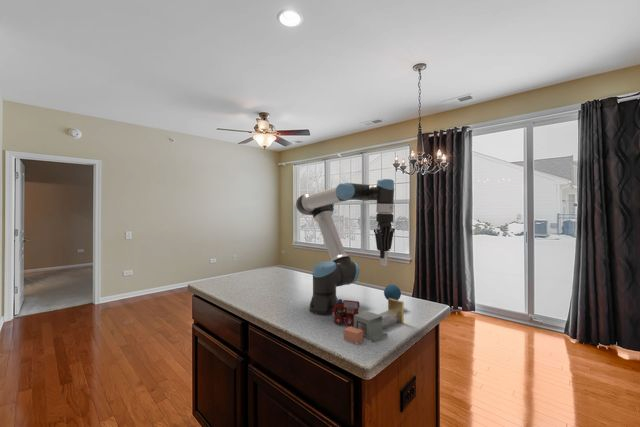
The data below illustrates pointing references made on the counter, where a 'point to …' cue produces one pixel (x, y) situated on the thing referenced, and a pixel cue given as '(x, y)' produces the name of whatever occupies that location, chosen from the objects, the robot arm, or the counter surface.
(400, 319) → the shaft
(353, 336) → the block
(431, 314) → the counter surface
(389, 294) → the teal egg
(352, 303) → the toy fire truck
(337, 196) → the robot arm
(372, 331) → the housing
